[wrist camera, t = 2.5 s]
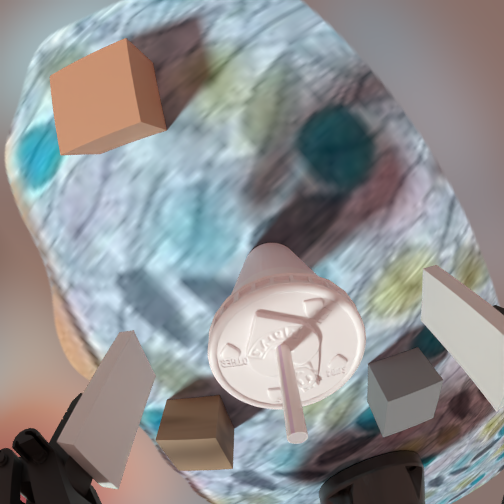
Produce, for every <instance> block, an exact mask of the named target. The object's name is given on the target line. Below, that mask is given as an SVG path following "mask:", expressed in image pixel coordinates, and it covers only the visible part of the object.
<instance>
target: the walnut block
mask: <svg viewBox="0 0 504 504" xmlns="http://www.w3.org/2000/svg"><path fill="white" fill-rule="evenodd" d="M156 441H157V443H158V444H159V445H160V447H161V448H162V449H163V451H164V452H165V453H166V455H167V456H168V457H169V459H170V460H171V461H172V463H173V464H174V465H175V466H176V468H177V469H178V470H179V471H192V470H220V469H233V449H234V427H233V425H232V423H231V420H230V418H229V416H228V413H227V411H226V409H225V406H224V404H223V402H222V399H221V397H220V395H215V396H206V397H196V398H185V399H172V400H167V402H166V405H165V409H164V412H163V416H162V419H161V423H160V426H159V430H158V434H157V437H156Z"/></svg>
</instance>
